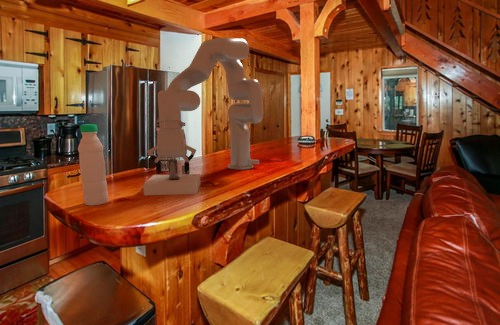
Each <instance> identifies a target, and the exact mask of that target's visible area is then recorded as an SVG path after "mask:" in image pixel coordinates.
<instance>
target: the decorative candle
mask: <svg viewBox="0 0 500 325" xmlns="http://www.w3.org/2000/svg"><path fill="white" fill-rule="evenodd" d="M155 122H156V129H155V130H156V131H155V133H154V134H155V138H156V140H155V141H156V145H157V134H158V130H160V123H159V117H158V118H157V119H156V121H155ZM156 157H158V155H157V156H156ZM171 159H176V160H177V157H176V158H161V159H160V161H161V168H162V172H169V166H168V160H171Z"/></svg>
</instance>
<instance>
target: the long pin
mask: <svg viewBox="0 0 500 325" xmlns="http://www.w3.org/2000/svg"><path fill="white" fill-rule="evenodd" d="M168 166H169V171H168V175H169V180H178V175H179V169H178V168H179V167H178V159H177V158H176V159H171V160H168Z"/></svg>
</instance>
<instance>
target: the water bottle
mask: <svg viewBox="0 0 500 325" xmlns="http://www.w3.org/2000/svg"><path fill="white" fill-rule="evenodd" d="M79 131H80V134H81V136H82V137H81V139H80V141H79V144H78V147H77V151H78V153H79V154H78V159H79V160H78V161H79V170H80V178H81V181H82V183H81V188H82V192H83V193H82V194H83V198H82V199H83V204H84V205H85V206H89V207H95V206H101V205H103V204H106V203H108V201H109V192H108V182H107V179H106V178H107V177H106V176H107V172H106V170H107V169H106V161H105V155H104V145H103V144H102V142H101V140H100V138H99V137H98V136H97V135H98V132H99V131H98V125H97V124H93V123H85V124H81V125H79Z"/></svg>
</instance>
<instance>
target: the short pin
mask: <svg viewBox="0 0 500 325" xmlns="http://www.w3.org/2000/svg"><path fill="white" fill-rule="evenodd" d="M190 172H191V171H190V169H189V170H188V172H187V173H185V166H184V164H183V165H181V174H191V173H190Z"/></svg>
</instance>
